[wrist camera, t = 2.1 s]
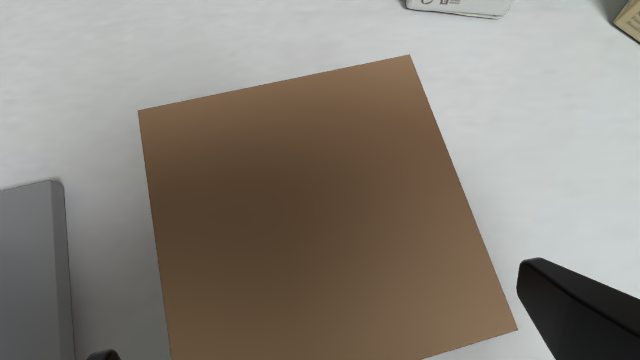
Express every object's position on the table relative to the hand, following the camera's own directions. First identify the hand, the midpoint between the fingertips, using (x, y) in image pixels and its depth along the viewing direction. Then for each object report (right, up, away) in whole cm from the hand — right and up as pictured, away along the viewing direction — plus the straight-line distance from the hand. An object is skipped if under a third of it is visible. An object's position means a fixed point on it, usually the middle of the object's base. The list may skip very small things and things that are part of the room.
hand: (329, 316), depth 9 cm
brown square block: (-1, -1, +9) cm, 9 cm away
